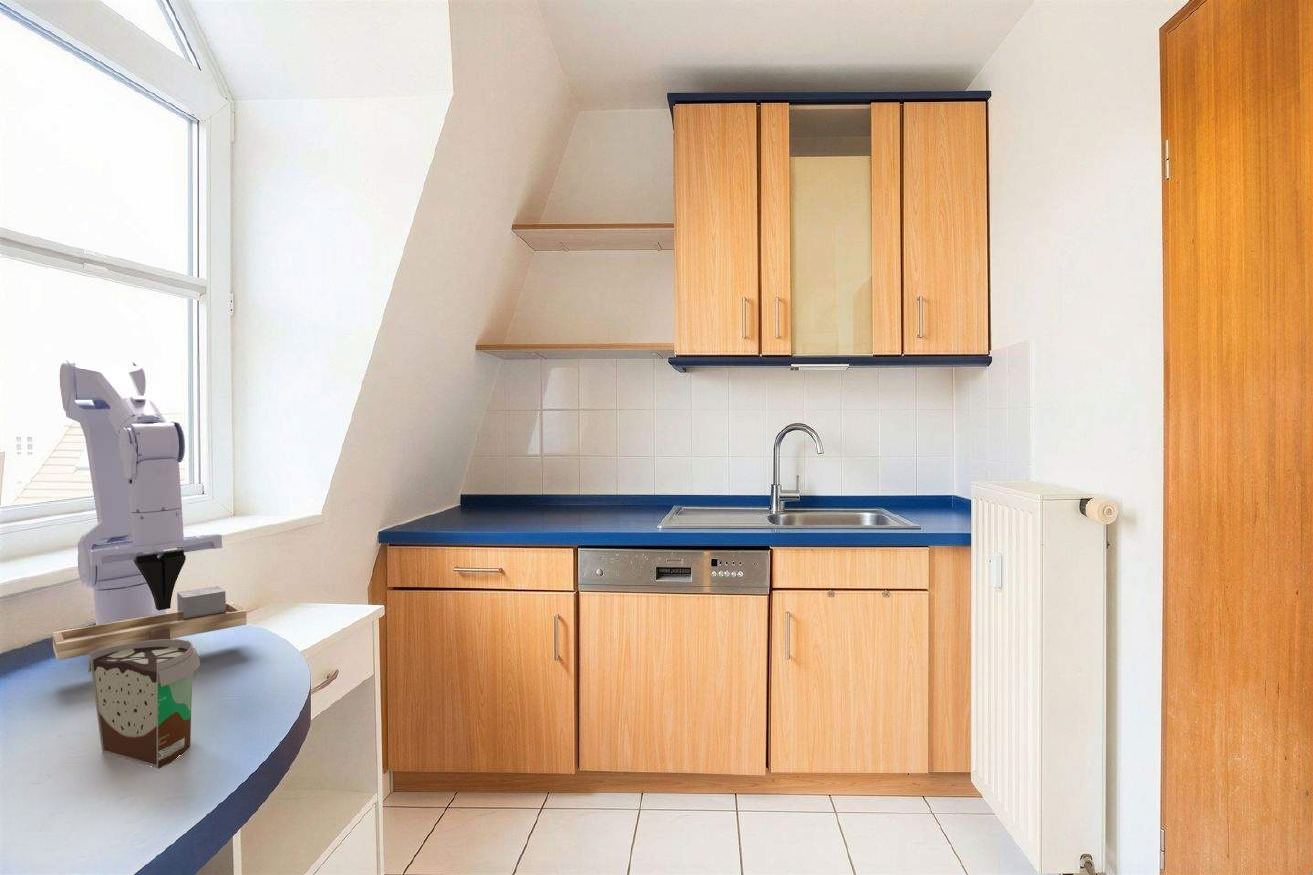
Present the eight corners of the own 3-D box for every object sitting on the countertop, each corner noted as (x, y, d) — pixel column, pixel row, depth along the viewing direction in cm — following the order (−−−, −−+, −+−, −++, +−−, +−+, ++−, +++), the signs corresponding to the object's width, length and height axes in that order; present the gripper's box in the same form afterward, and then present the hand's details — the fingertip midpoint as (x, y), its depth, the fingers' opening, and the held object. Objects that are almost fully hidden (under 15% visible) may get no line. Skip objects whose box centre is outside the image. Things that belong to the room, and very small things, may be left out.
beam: (57, 664, 83) (56, 644, 83) (53, 650, 89) (52, 632, 89) (246, 627, 97) (246, 610, 97) (233, 618, 103) (232, 602, 103)
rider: (183, 626, 93) (183, 597, 93) (177, 620, 97) (177, 592, 97) (226, 619, 97) (225, 591, 97) (218, 613, 100) (218, 586, 100)
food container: (233, 741, 69) (226, 643, 68) (167, 771, 63) (160, 664, 63) (159, 724, 74) (153, 632, 74) (93, 750, 68) (86, 651, 68)
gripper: (91, 519, 86) (98, 626, 86) (224, 505, 96) (231, 601, 96) (85, 515, 91) (92, 616, 91) (213, 502, 101) (218, 593, 101)
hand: (163, 608), depth 94 cm, fingers closed
